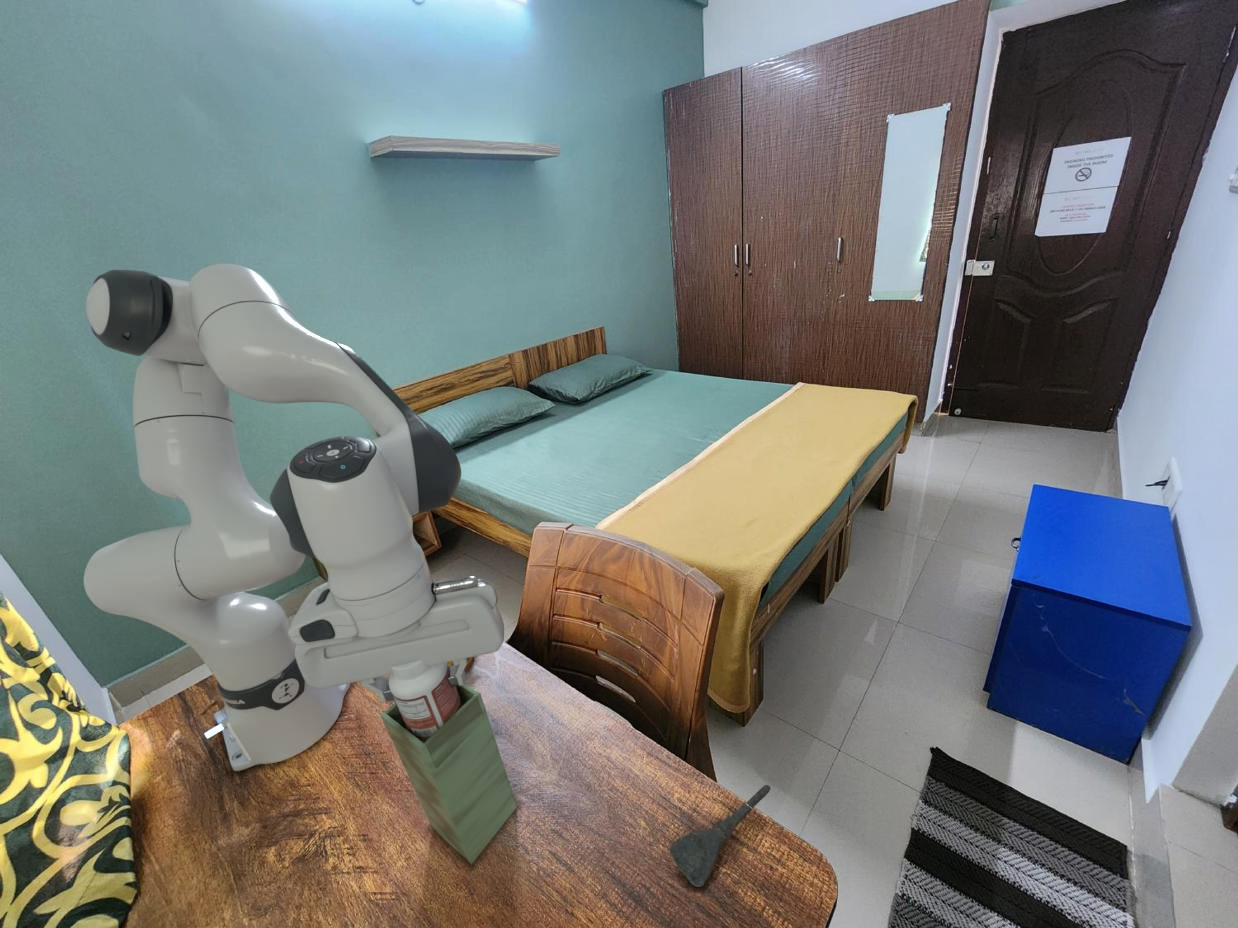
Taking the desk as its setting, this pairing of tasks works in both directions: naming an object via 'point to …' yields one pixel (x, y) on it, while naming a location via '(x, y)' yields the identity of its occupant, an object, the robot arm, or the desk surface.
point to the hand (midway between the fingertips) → (424, 689)
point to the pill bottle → (424, 697)
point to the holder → (457, 774)
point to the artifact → (709, 843)
